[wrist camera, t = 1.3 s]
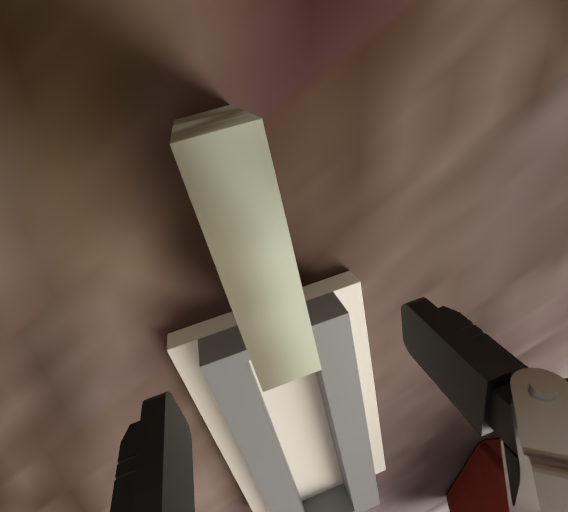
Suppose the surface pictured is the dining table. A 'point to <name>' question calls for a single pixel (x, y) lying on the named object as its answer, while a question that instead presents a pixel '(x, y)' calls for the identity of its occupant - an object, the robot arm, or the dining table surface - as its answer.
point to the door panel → (248, 238)
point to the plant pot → (481, 482)
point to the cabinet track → (292, 408)
